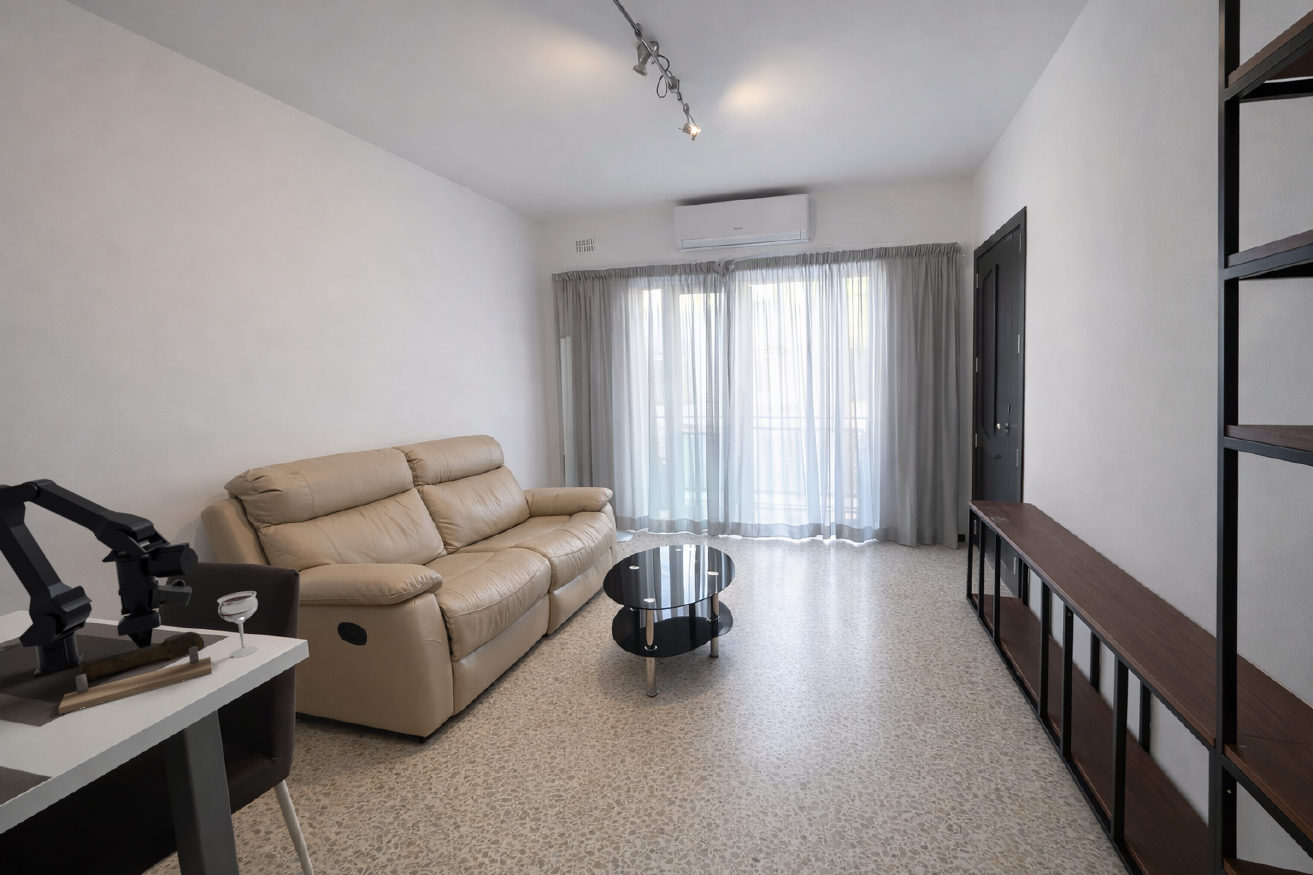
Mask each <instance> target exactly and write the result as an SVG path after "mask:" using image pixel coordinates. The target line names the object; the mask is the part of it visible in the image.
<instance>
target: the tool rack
mask: <svg viewBox="0 0 1313 875" xmlns="http://www.w3.org/2000/svg"><path fill="white" fill-rule="evenodd" d="M188 650H189V654H188V658H189V661H188V662H184V663H180V664H177V665H174V666H173V665H172V666H169V667H165V668H162V669H158V670H157V669H156V670H154V671H150V672H147V673H143V674H139V675H135V676H131V677H127V678H124V679H123V678H122V679H120V680H119V679H118V680H116V681H111V682H108V683H104V684H99V685H97V686H92V687H88V686H89V685H88V681H87V677H86V674H82V675H79V674H78V675H77V676H75V684H76V685H75V686H76V691H73V692H70V693H66V694H64V695H63V698H62V699H61V701H60V702H61V703H59V706H58V713H59V714H61V713H65V714H68V713H71V712H70V711H72V712H75V711H78V710H77V709H79V710H81V709H80V708H83V707H86V708H89V707H94V706H96V705H95V704H97V705H100V704H99V703H101V702H105V703H107V702H106V701H108V702H111V700H112V701H115V700H119V699H122V697H123V698H126V697H129V696H133V695H138V694H140V693H145V692H148V691H151V689H152V690H154V689H159V688H162V687H166V686H165V685H167V686H170V685H173V684H172V683H174V684H178V683H180V682H184V681H183V680H185V681H188V680H191V679H190V678H192V679H195V678H198V677H202V676H205V675H209V674H212V661H211V660H212V659H211V656H208V657H204V658H199V650H198V648H197V646H195V647H191V648H189V649H188ZM187 679H188V680H187ZM169 684H170V685H169ZM144 691H145V692H144ZM125 696H126V697H125ZM118 698H119V699H118ZM101 704H102V703H101ZM93 705H94V706H93ZM83 709H84V708H83ZM74 710H75V711H74ZM67 712H68V713H67ZM61 715H62V714H61Z"/></svg>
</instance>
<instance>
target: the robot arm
mask: <svg viewBox="0 0 1313 875" xmlns="http://www.w3.org/2000/svg"><path fill="white" fill-rule="evenodd" d="M25 503H32V504H35V505H36V506H39V507H40V508H43V509H45V510H46V511H50V512H52V513H54V514H56V515H58V516H60V517H62V518H64V519H67V521H68V520H69V521H71V522H73V523H75V524H76V525H79V526H81V527H84V528H85V529H87V530H89V531H90V532H92V533H93V535H94V536H95V538H96V539H97V541H98V542H100V543H102V544H103V545H104V546H105V547H108V548H109V549H110V552H109V553H108V554H107V555H106V556H105V557H103V558H102V560H101V562H102V563H113V562H114V563H115V570H116V576H117V582H118V583H117V584H118V590H117V594H118V596H120V597H119V598H120V606H121V609H120V615H121V616H122V618H121V619H120V620H119V621H118V624H117V633H118V636H119V637H125V636H128V637H129V638H130V639H131V640H132V642H133V643H134V644H135V645H136V646H137V647H138V649H141V648H145V647H148V646H152V639H153V632H154V629H158V628H159V627H160V628H161V621H162V613H163V612H162V611H157V610H156V609H160V608H161V607H163V605H165V606H178V607H181V608H183V607H188V605H189V602H190V599H191V596H192V593H193V588H192V587H191V586H190V585H187V586H186V582H185V580H184V579H175V580H173V582H172V583H171V584H166V585H160V583H159V579H164V578H173V577H174V578H175V577H184V576H185V577H186V576H192V575H193V574H194V573H195V572H196V570H197V568H198V566H199V555H198V554H197V552H196V551H195V550H194V549H193V548H191V546H190V543H189V542H181V543H177V544H176V543H175V544H171V542H170V541H169V540H168V539H167V538H166V537H165V536H163V535H162V534H161V533H160V532H159V530H157V529H156V528H155V527H154V526H155V524H154V523H153V522H152V521H151V520H150V519H148V518H146V517H142V516H139V515H136V514H132V513H129V512H128V513H127V512H120V511H115V510H111V509H108V508H107V507H104V506H102V505H101V504H98V503H96V502H94V501H92V500H90V499H88V498H85V497H84V496H81V495H79V494H77V493H75V492H73V491H71V490H69V489H67V488H64V487H62V486H61V485H58V484H57V483H56V482H55V480H52V479H49V478H39V479H33V480H29V481H25V482H22V483H20V484H15V485H9V484H4V483H3V484H1V483H0V552H1V553H2V555H3V557H4V558H5V560H6V561H7V563H8V565H9V566H10V568H11V569H12V571H13V573H14V574H15V576H16V577H17V578H18V580H19V581H20V584H21V585H22V586H23V588H24V590H25V591H26V592H27V594H28V595H29V607H28V615H29V617H30V620H31V623H32V624H31V625H29V627H28V628H27V629H26V630H25V631H24V632H23V633H22V634H21V635H20V636H19V637H18V640H19V641H20V644H21V645H22V646H23V647H24V648H31V647H35V652H36V657H37V664H38V665H37V666H36V669H35V670H34V672H33V676H34V677H37V676H41V675H45V674H49V673H54V672H59V671H62V670H65V669H70V668H74V667H79V665H80V663H82V660H83V659H84V658H83V657H84V653H78V652H79V651H78V646H77V638H76V632H77V631H78V630H81V629H84V628H85V627H86V626H85V625H86V623H87V620H88V618H90V615H91V612H92V611H93V610H92V605H91V603H92V602H93V600H92V599H91V598H90V597H89V596H88V595H87V594H86V592H85V591H86V590H85V589H84V587H83V586H82V585H76V586H75V587H72V586H69V585H67V584H65V583H64V582H63V581H62V580H61V578H60V577H59V575H58V574H57V571H56V570H55V568H54V567H53V565H52V564H51V562H50V561H49V559H48V558H47V556H46V555H45V553H44V551H43V550H42V548H41V546H40V545H39V543H38V542H37V540H36V539H35V537H34V536H33V534H32V533H31V531H30V529H29V528H28V526H27V525H26V523H25V517H26V516H25V515H26V509H27V508H26V504H25ZM147 543H148V544H147Z"/></svg>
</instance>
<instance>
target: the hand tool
mask: <svg viewBox="0 0 1313 875" xmlns="http://www.w3.org/2000/svg"><path fill="white" fill-rule="evenodd" d="M195 646H197V648H198V651H200V650H202V649H204V648H205V641H204V638H203V637H201V634H199V633H198V632H195V631H188V632H184V633H178V634H174V635H171V636H169V637H166V638H164V641H162V642H160V643H156V644H151V646H148V647H145V648H141V649H140V648H138V649H135V650H130V651H128V652H123V653H120V654H114V655H110V656H107V657H104V658H103V657H102V658H100V659H95V660H92V661H86V662H83V661H81V662H80V664H79V665H78V671H79V672H78V673H79V674H78V675H82V674H86V677H87V682H88V681H96V680H97V679H98V678H101V677H104V676H107V675H111V674H115V673H117V672H121V671H124V670H127V669H128V670H129V669H131V668H135V667H139V666H142V665H143V666H144V665H147V664H149V663H152V662H156V661H160V660H165V659H167V660H174V659H177V657H178V658H181V657H184V655H185V656H187V655H189V650H188V649H189V648H191V647H195ZM186 654H187V655H186Z"/></svg>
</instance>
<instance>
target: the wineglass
mask: <svg viewBox="0 0 1313 875" xmlns="http://www.w3.org/2000/svg"><path fill="white" fill-rule="evenodd" d="M256 595H257V591H254V590H246V591H239V592H234V593H230V594H227V595H224V596H222V597H220V598H218V599H217V601H216V602H218V604H219V606H218V609H217V611H218V612H217V613H218V615H219V616H220V618H222V619H224V620H225V621H227V622H231V623H235V625H237V626H238V631H239V632H238V633H239V639H240V643H241V648H238V649H236V650H234V651H232V652H230V653H229V655H228V656H229V657H230V658H232V659H233V658H242V657H247V656H249V655H251V654H254V653H255V652H257V651H258V649H259V648H258V647H257V646H245V638H244V637H245V636H244V625H243V623H244V622H245V621H246V620H248V619H249V618H251V616H253V615H254V613H255V612H256V611H257V610H258V604H259V602H258V599H257V598H256Z"/></svg>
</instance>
